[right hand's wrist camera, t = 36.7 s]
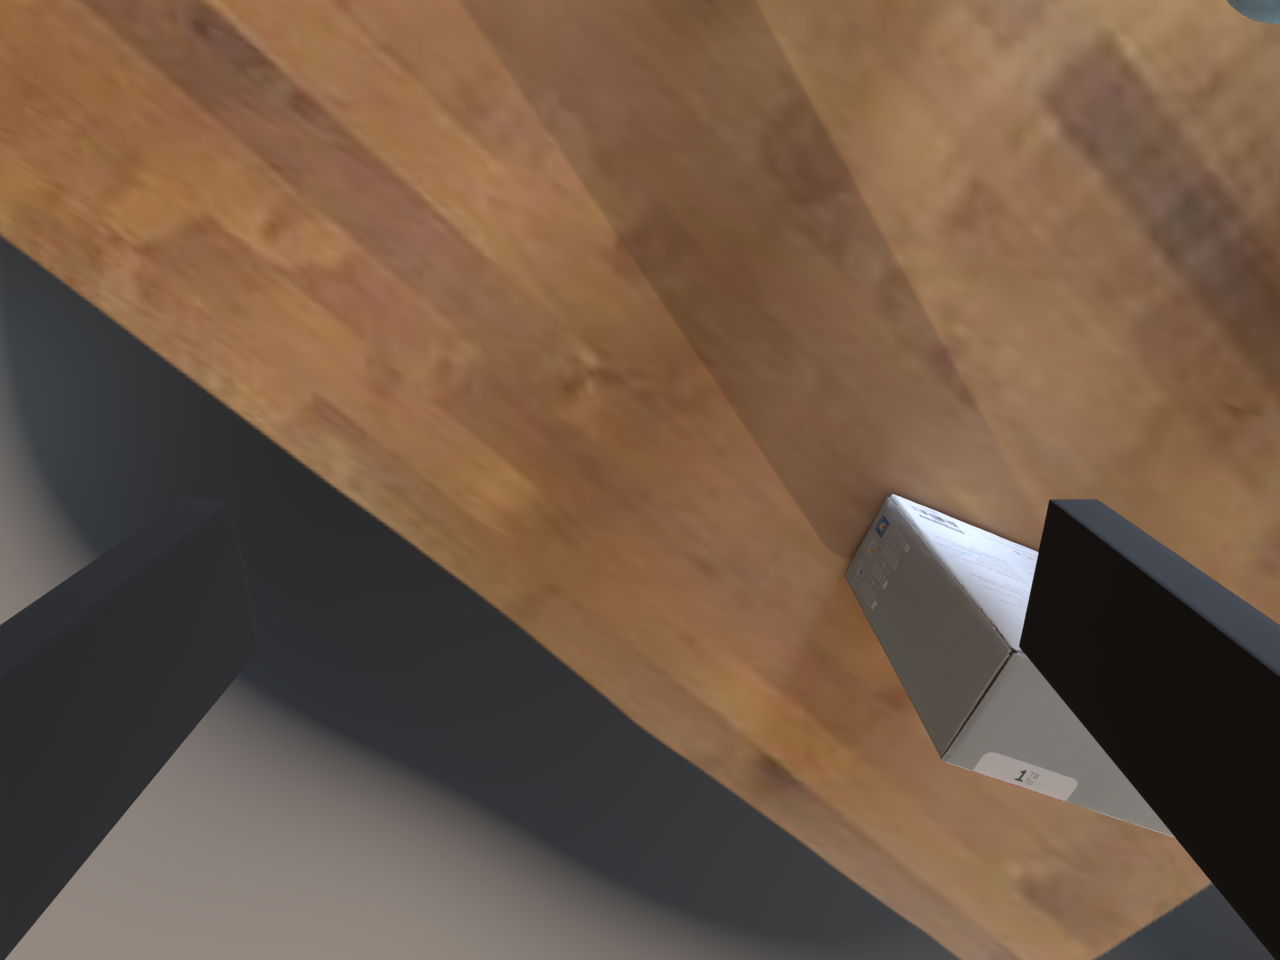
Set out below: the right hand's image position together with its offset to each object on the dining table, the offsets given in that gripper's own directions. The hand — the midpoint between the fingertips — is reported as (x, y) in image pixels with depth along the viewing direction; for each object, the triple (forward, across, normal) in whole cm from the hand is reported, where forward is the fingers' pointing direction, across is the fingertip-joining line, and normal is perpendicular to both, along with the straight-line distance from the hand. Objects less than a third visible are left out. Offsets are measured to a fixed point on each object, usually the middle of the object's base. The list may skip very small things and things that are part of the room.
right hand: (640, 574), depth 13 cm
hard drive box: (+41, +24, -21) cm, 52 cm away
